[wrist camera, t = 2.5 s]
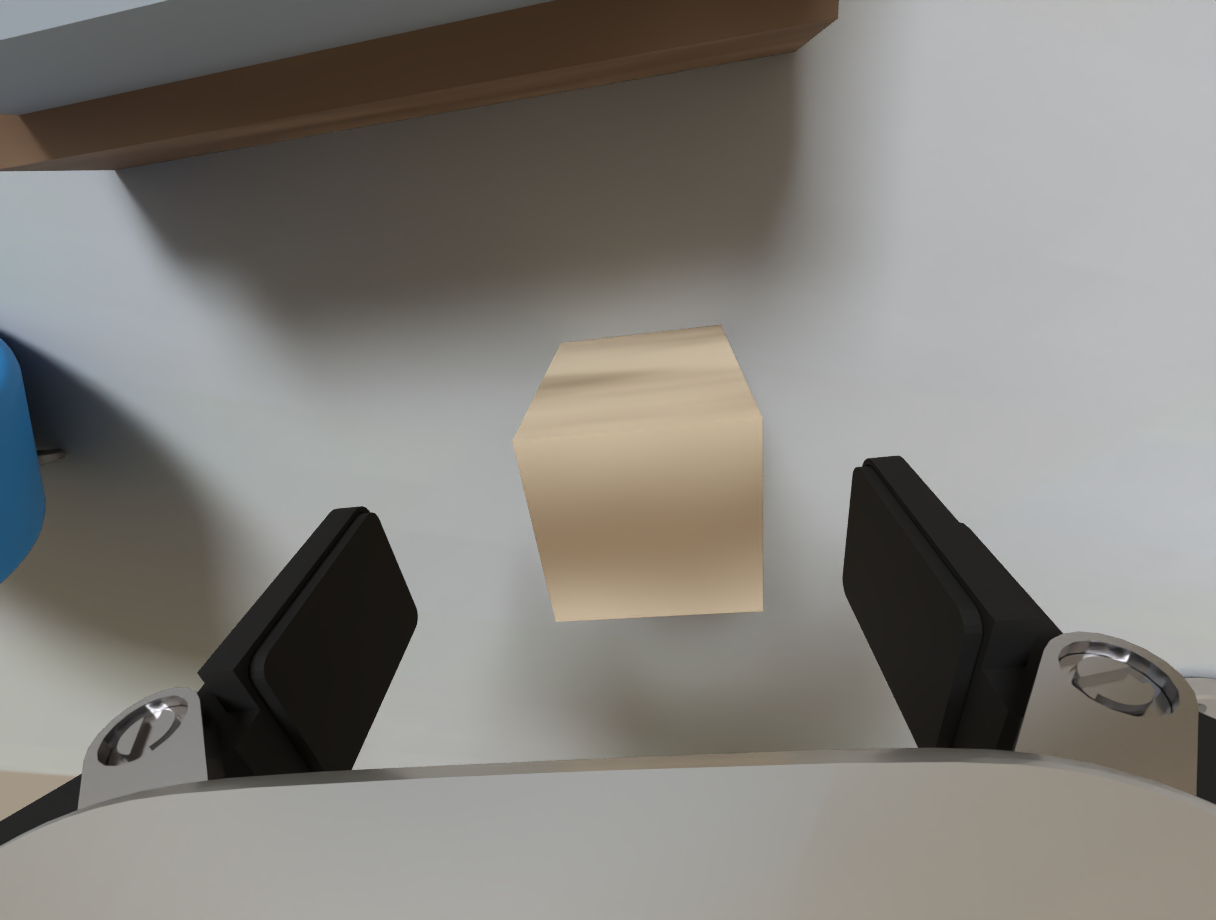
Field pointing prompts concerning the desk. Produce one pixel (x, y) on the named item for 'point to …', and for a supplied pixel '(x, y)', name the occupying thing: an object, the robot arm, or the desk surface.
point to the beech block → (646, 477)
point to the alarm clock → (18, 469)
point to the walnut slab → (409, 78)
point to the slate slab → (185, 39)
